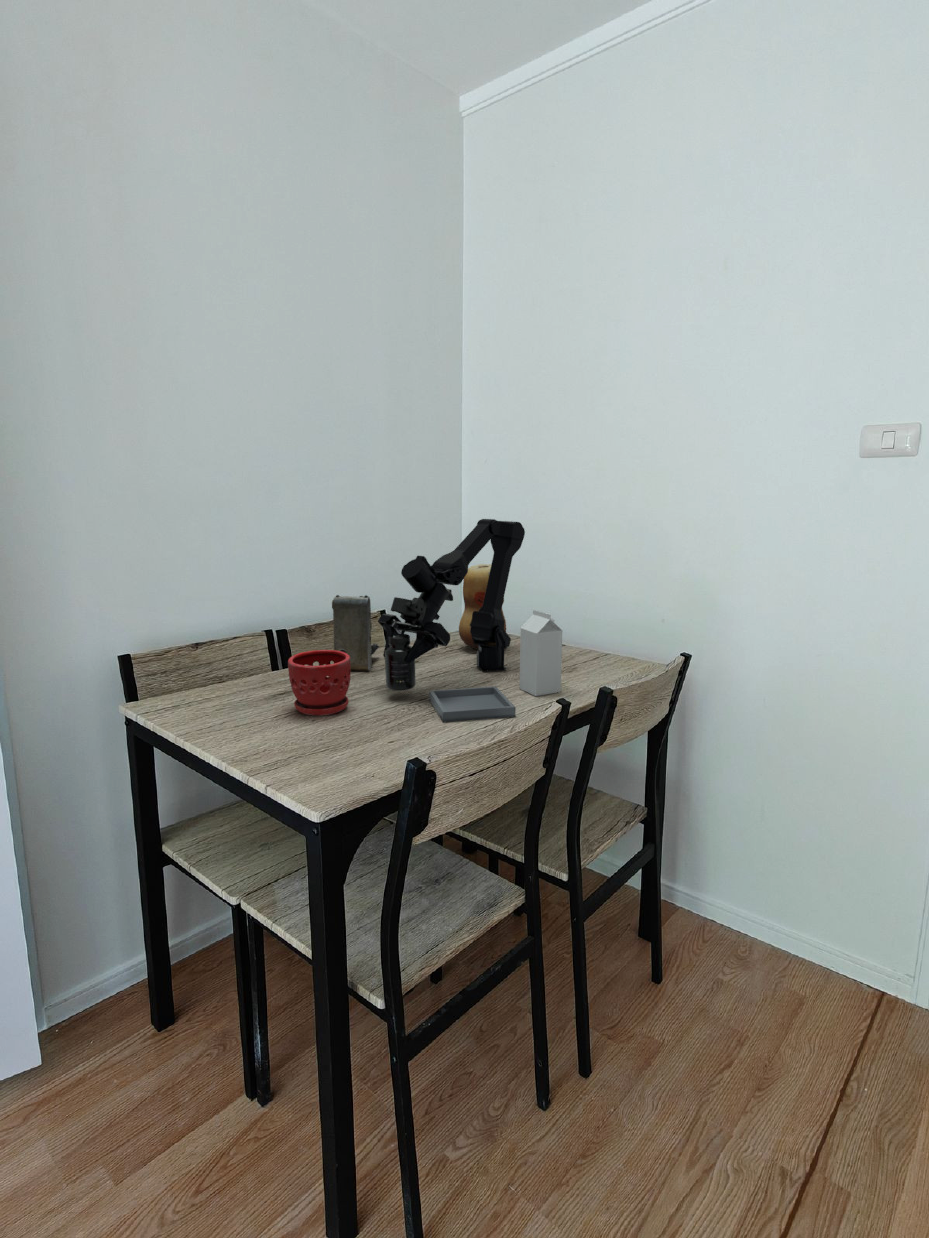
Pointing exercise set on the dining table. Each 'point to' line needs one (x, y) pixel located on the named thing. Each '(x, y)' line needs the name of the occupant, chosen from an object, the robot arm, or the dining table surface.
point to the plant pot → (320, 681)
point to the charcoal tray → (471, 704)
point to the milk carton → (540, 655)
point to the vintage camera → (353, 630)
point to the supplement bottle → (399, 663)
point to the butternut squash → (474, 599)
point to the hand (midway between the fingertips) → (395, 659)
